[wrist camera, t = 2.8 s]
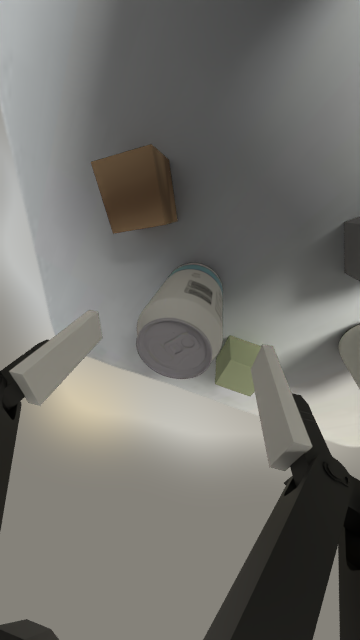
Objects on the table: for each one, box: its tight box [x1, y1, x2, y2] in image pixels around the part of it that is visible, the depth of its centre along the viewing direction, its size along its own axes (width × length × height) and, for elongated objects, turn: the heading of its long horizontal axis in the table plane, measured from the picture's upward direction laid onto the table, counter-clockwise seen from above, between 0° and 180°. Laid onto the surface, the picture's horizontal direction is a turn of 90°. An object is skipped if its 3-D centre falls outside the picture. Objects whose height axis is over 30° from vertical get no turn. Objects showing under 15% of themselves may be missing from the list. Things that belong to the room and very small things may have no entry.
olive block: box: [215, 336, 261, 396], centre depth 25 cm, size 5×5×5 cm
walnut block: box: [91, 144, 178, 234], centre depth 16 cm, size 5×5×5 cm
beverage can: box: [136, 263, 223, 379], centre depth 18 cm, size 7×7×12 cm
